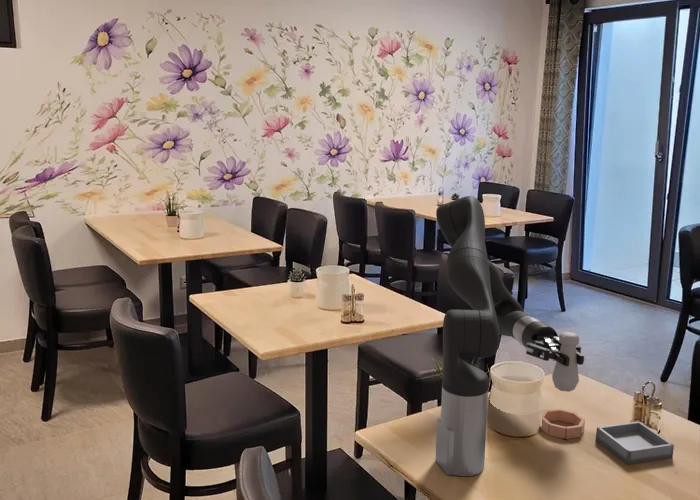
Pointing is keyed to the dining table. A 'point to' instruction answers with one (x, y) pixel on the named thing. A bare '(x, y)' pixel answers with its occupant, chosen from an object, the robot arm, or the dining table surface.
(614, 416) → the dining table surface
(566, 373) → the salt shaker
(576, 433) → the collar
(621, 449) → the tray
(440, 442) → the robot arm
